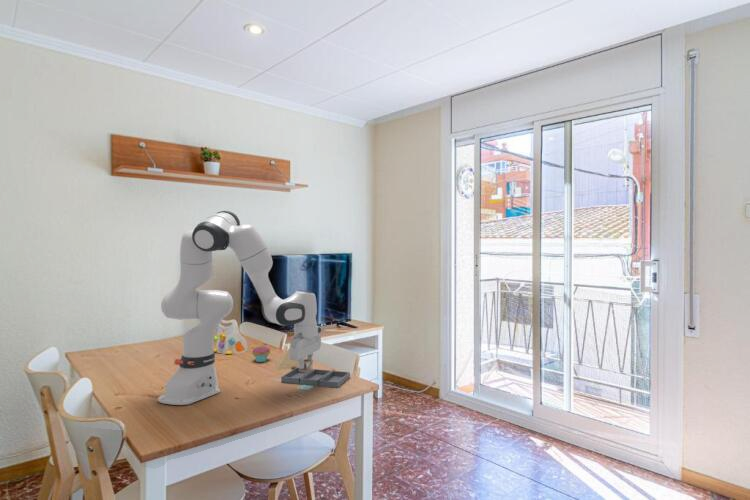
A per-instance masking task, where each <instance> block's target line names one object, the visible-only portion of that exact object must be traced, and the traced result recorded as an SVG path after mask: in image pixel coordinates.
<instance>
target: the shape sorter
mask: <svg viewBox="0 0 750 500" xmlns="http://www.w3.org/2000/svg"><path fill="white" fill-rule="evenodd" d="M222 324H227V325H228V324H230V325H228V326H224V325H222ZM214 343H215V345H214V346H215V347H214V353H218V354H225V355H234V354H235V355H236V354H242V353H243V354H244V353H246V352H248V343H247V340H246V339H245V338H244V337H243V336H242V335H241V333H240V330H239V324H238V321H237V320H236V319H230V320H224V319H223V320H222V321H221V322H220V323H219V325H218V326H217V328H216V335H214Z"/></svg>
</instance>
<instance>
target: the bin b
mask: <svg viewBox="0 0 750 500" xmlns="http://www.w3.org/2000/svg"><path fill="white" fill-rule="evenodd" d="M313 369H314V370H312V371H311V372H309V373H308V374H306V375H305V376H303V377H302V378H300V384H299V385H300V386H302V385H310V386H314V387H320V386H319V380H321V379H322V378H323V377H325V376H326V375H327V374H329V373H330V372H332V370H327V369H318V368H313Z"/></svg>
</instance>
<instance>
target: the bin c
mask: <svg viewBox="0 0 750 500" xmlns="http://www.w3.org/2000/svg"><path fill="white" fill-rule="evenodd" d="M350 378H351V372H350V371H341V370H331V372H330V373H329V374H327V375H326V376H325V377H323V378H322V379H321V380H319V386H318V387H322V388H334V389H338V388H339V387H341V386H342V385H343V384H344V383H346V382H347V381H348V380H349V379H350Z"/></svg>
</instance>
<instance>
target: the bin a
mask: <svg viewBox="0 0 750 500" xmlns="http://www.w3.org/2000/svg"><path fill="white" fill-rule="evenodd" d="M314 369H315V368H313V370H314ZM311 371H312V370H311ZM311 371H310V372H311ZM308 373H309V372H308ZM308 373H307V372H299V368H298V367H297V368H295V369H293V370H290V371H289V372H287V373H285V374H283V375H282V376H281V377H280V382H281V383H282V384H283V383H284V384H293V385H301V384H300V378H302V377H303V376H305V375H306V374H308Z"/></svg>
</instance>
